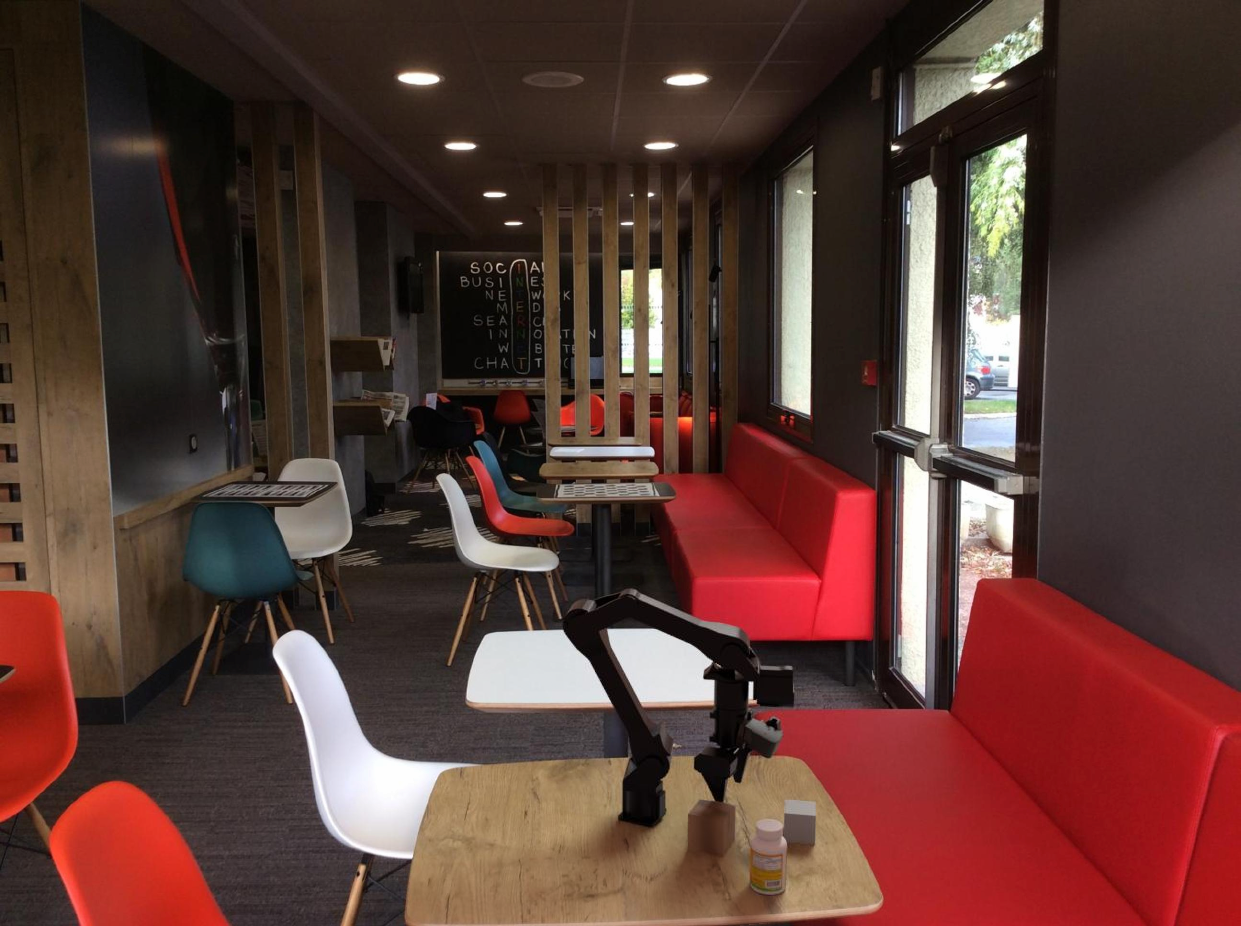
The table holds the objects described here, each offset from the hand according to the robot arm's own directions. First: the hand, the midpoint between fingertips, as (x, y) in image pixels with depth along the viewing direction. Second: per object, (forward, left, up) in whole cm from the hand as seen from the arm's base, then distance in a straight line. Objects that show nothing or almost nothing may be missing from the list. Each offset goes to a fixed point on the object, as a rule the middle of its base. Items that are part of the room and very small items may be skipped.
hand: (729, 793), depth 175 cm
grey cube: (+12, 0, -5) cm, 13 cm away
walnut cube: (0, -5, -2) cm, 6 cm away
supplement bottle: (+12, -17, -5) cm, 21 cm away
